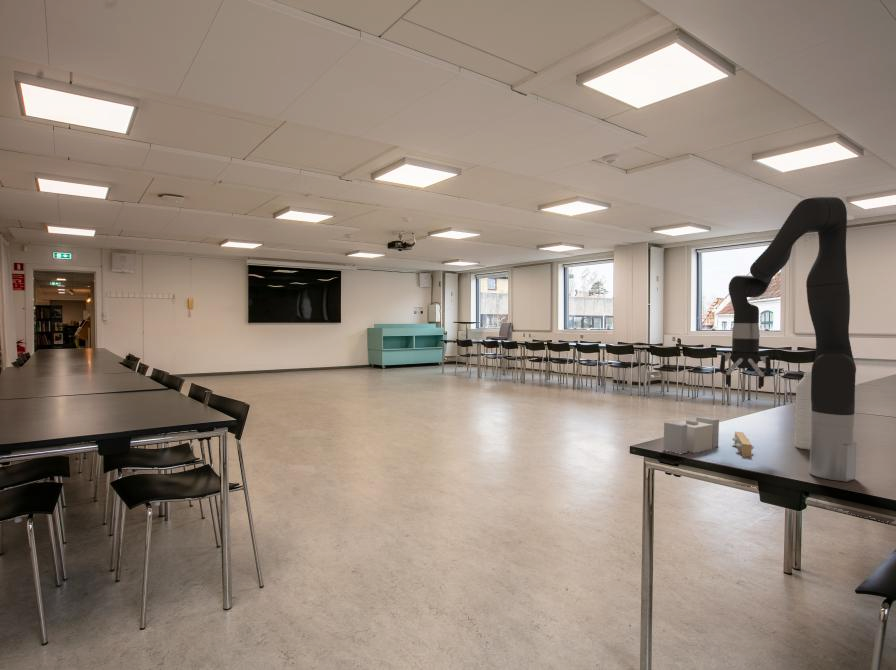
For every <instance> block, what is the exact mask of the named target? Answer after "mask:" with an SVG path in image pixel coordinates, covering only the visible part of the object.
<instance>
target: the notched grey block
mask: <svg viewBox="0 0 896 670" xmlns="http://www.w3.org/2000/svg"><path fill="white" fill-rule="evenodd" d="M695 418H696V420H694V419H692V420H691V419H686V420H683V421H677V422H674V421H664V423H663V450H668V451H672V452H677V453H681V454H682V453H688V452H687V451H690V452H689V453H691V452H694V453H693V454H696V453H695V452H697V453H701V452H700V451H702V452H705V450H706V451H710V449H711V450H713V447H714V448H717V446H718V447H719V437H720V436H719V435H720V434H719V432H720V431H719V430H720V428H719V427H720V419H718V418H712V417H707V416H697V417H695ZM668 451H667V452H668ZM672 452H671V453H672ZM682 455H683V454H682Z"/></svg>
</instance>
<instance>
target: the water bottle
mask: <svg viewBox="0 0 896 670" xmlns="http://www.w3.org/2000/svg"><path fill="white" fill-rule="evenodd" d="M795 393H796V394H795V397H796V398H795V411H794V413H795V417H794V421H795V422H794V432H795V433H794V443H793V446H794V447H795V448H798V449H802V450H803V449H804V450H807V449H808V450H809V451H810V437H811V372H804V373H803V377H802V378H801V379H800V380H799V382H798V383H797V384H796V385H795Z"/></svg>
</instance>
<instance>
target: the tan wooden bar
mask: <svg viewBox="0 0 896 670" xmlns="http://www.w3.org/2000/svg"><path fill="white" fill-rule="evenodd" d="M733 441H734V444H735V447H736V448H737V449H738V451H739V453H740V454H742V455H741V456H742V457H747V456H749V458H752V450H754V445H752V443H751V441H750V438H749V439H748V438H747V436H746V435H745V433H744V432H743V431H734V437H732V442H733Z"/></svg>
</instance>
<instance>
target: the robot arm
mask: <svg viewBox="0 0 896 670" xmlns="http://www.w3.org/2000/svg"><path fill="white" fill-rule="evenodd" d="M847 225H848V211H847V206H846V204H845V203H844V200H842V198H839V197H838V196H837V197H836V196H809V197H806V198H803V199H802V200H800V201H798V203H797V204H796V205H795V206H794V208H793V209H792V210H791V212H790V213H789V215H788V217H787V218H786V220H785V221H784V223H783V224H782V226H781V227H780V229H779V231H778V232H777V234H776V235H775V237H774V238H773V240H771V243H770V244H769V245H768V247H766V249H765V250H764V251H763V252H762V253H761V254H760V255H759V256H758V258H756V259H755V260H754V262H753V263H752V264H751V265H750V269H749V271H750V275H744V274H743V275H742V274H741V275H739V274H738V275H735V276H733V277H732V278H731V279H730V281H729V283H728V294H729V298H730V301H731V304H732V305H731V306H732V309H733V326H732V333H731V336H732V338H731V339H732V341H731V354H730V355H727V354H725V353H724V354H721V355H720V364H719V372H720V373H721V374H724V375H725V384H726V385H727V387H729V388H730V387H731V386H732V385H731V384H732V375H731V374H732V373H733V371H735V370H736V369H740V370H741V369H745V370H746V369H747V370H752V369H753V370H755V372H756V373H757V374H758V375H759V376H758V378H757V379H758V380H757V381H758V383H757V385H758V386H757V388H758V389H762V388H763V387H764V385H765V377H767V376H770V375H771V374H772V368H771V367H772V366H771V357H770V356H769V355H766V356H760V354H759V353H760V336H761V335H760V325H759V323H760V309H759V307H758V305H755V304H751V303H750V302H749V300H748V298H758V297H760V296H762V295H764V293H766V291H767V290H768V288H769V286H770V284H771V282H772V280H773V279H774V277H775V276H776V275H777V274H778V273H779V272H780V271H781V270H782V269H783V268H784V267H785V266H786V265H787V264H788V261H789V260H790V258H791V255H792V254H791V253H792V248H793V246H794V244H795V243H796V242H797V241H798V240H799V239H800V238H801V237H803V236H804V235H806V233H808V232H810V233H812V232H813V233H815V232H817V234H818V253H817V255H816V258H815V260H814V262H813V264H812V266H811V268H810V270H809V272H808V275H807V279H806V282H805V284H806V285H805V286H806V296H807V305H808V310H809V315H810V318H811V319H810V320H811V322H812V326H813V328H814V329H813V330H814V335H815V360H814V362H813V363H812V365H811V372H810V373H811V437H810V450H809V470H808V471H809V474H810V475H812V476H814V477H817V478H821V479H826V480H830V481H831V480H832V481H840V482H845V483H846V482H847V483H848V482H850V481H853V480H855V479H856V474H857V473H856V471H857V470H856V469H857V445H858V444H857V442H855V441H854V439H855V437H854V436H855V410H856V409H855V407H856V404H855V403H856V397H855V396H856V375H857V374H856V372H857V365H856V363H855V360H854V359H855V358H854V355H853V349H852V345H851V342H850V331H849V330H850V329H849V328H850V327H849V326H850V317H851V316H850V315H851V313H850V312H851V296H850V295H851V293H850V284H849V283H850V282H849V277H848V275H849V274H848V264H847V263H848V262H847V231H848V230H847V229H848V228H847ZM729 359H730V360H731V362H732V365H730V366H729V368H728V369H727V370H726V369H725V366H726V365H725V364H726V362H728V360H729ZM760 361H761V362H762V363H763V364H765V366H764V367H765V371H762V370H761V369H760V368H759V366H758V365H757V364H758V363H759V362H760Z"/></svg>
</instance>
